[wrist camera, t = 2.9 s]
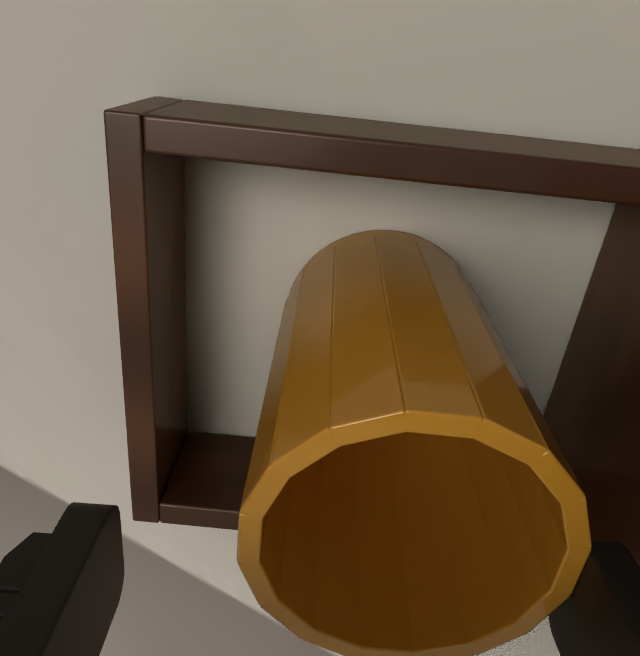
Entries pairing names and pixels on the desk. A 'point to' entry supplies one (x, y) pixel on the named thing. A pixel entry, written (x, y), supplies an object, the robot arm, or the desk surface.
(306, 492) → the cup
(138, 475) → the organizer
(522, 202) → the desk surface
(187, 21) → the desk surface
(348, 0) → the desk surface
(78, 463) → the desk surface
